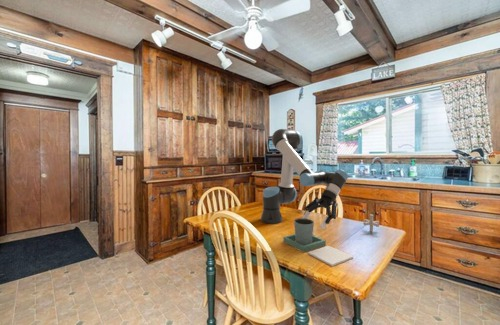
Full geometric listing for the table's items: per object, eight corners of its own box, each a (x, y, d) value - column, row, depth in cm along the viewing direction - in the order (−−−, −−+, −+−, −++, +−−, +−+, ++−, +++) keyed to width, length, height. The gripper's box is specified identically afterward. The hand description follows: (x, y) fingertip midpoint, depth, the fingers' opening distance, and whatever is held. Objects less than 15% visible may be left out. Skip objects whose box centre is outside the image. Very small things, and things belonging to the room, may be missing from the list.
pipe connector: (371, 235, 129) (371, 217, 129) (358, 229, 139) (358, 213, 139) (384, 233, 132) (385, 216, 132) (371, 227, 142) (371, 212, 141)
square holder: (283, 241, 122) (283, 237, 122) (304, 235, 129) (304, 231, 129) (303, 252, 108) (303, 247, 108) (325, 245, 116) (325, 240, 116)
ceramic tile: (308, 253, 107) (308, 252, 107) (328, 247, 114) (328, 245, 114) (332, 266, 95) (332, 264, 95) (353, 258, 102) (353, 256, 102)
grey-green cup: (299, 238, 126) (299, 217, 125) (317, 242, 120) (317, 220, 119) (290, 244, 118) (290, 221, 118) (308, 249, 112) (308, 225, 111)
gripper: (353, 201, 117) (334, 235, 110) (317, 194, 138) (299, 222, 131) (347, 192, 114) (327, 227, 107) (310, 186, 136) (292, 215, 129)
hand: (311, 224), depth 119 cm, fingers open, 13 cm apart
